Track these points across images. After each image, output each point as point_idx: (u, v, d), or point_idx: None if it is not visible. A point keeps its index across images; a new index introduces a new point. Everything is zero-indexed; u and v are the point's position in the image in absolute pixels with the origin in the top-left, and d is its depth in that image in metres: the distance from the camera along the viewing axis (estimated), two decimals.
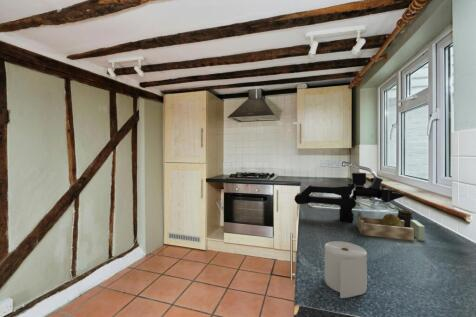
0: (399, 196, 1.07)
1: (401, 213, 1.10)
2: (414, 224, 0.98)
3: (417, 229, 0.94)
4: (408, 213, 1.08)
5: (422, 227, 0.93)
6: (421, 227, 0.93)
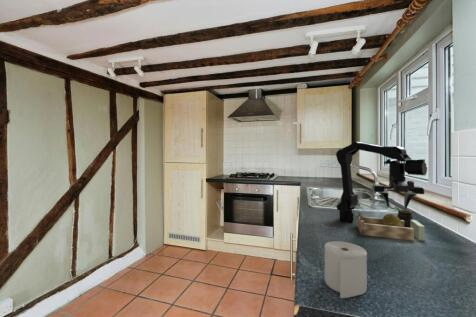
0: None
1: (401, 213, 1.10)
2: (414, 224, 0.98)
3: (417, 229, 0.94)
4: (408, 213, 1.08)
5: (422, 227, 0.93)
6: (421, 227, 0.93)
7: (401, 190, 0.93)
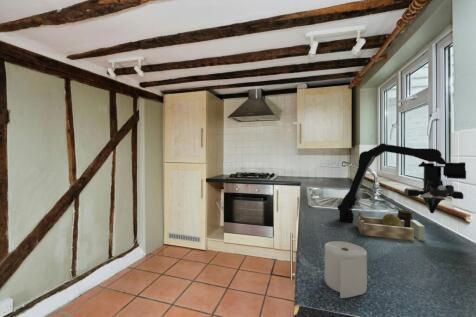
0: (428, 207, 0.97)
1: (401, 213, 1.10)
2: (414, 224, 0.98)
3: (417, 229, 0.94)
4: (408, 213, 1.08)
5: (422, 227, 0.93)
6: (421, 227, 0.93)
7: (439, 195, 0.89)
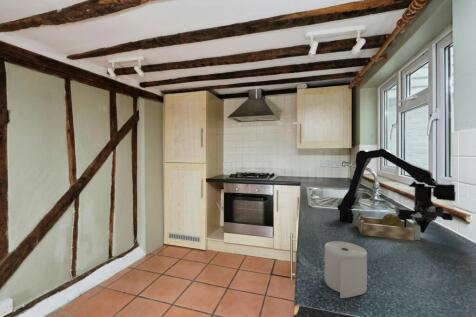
0: None
1: None
2: (410, 224, 0.99)
3: None
4: None
5: (418, 227, 0.94)
6: (417, 227, 0.94)
7: (429, 216, 0.90)
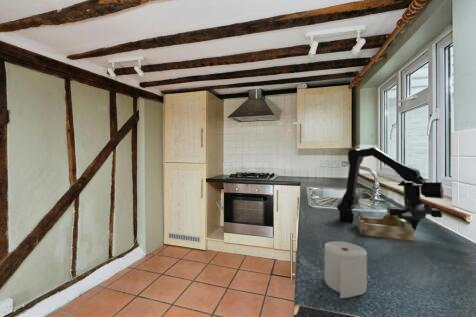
0: None
1: (401, 213, 1.10)
2: (402, 223, 1.00)
3: None
4: None
5: (409, 226, 0.95)
6: (408, 226, 0.95)
7: (418, 214, 0.91)
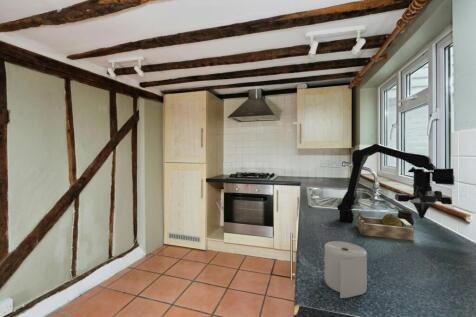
0: (418, 213, 0.98)
1: (401, 213, 1.10)
2: (402, 223, 1.00)
3: None
4: (408, 213, 1.08)
5: (409, 226, 0.95)
6: (408, 226, 0.95)
7: (428, 200, 0.90)
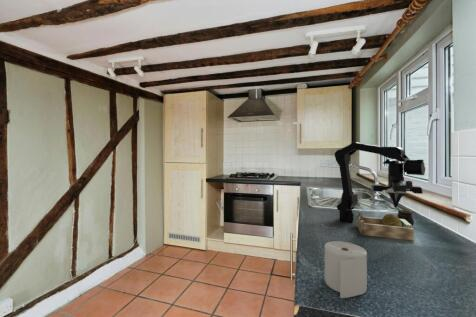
0: (392, 202, 1.03)
1: (401, 213, 1.10)
2: (402, 223, 1.00)
3: None
4: (408, 213, 1.08)
5: (409, 226, 0.95)
6: (408, 226, 0.95)
7: (399, 190, 0.95)
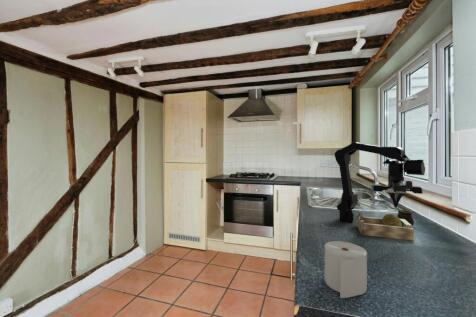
0: (392, 202, 1.03)
1: (401, 213, 1.10)
2: (402, 223, 1.00)
3: None
4: (408, 213, 1.08)
5: (409, 226, 0.95)
6: (408, 226, 0.95)
7: (399, 190, 0.95)
